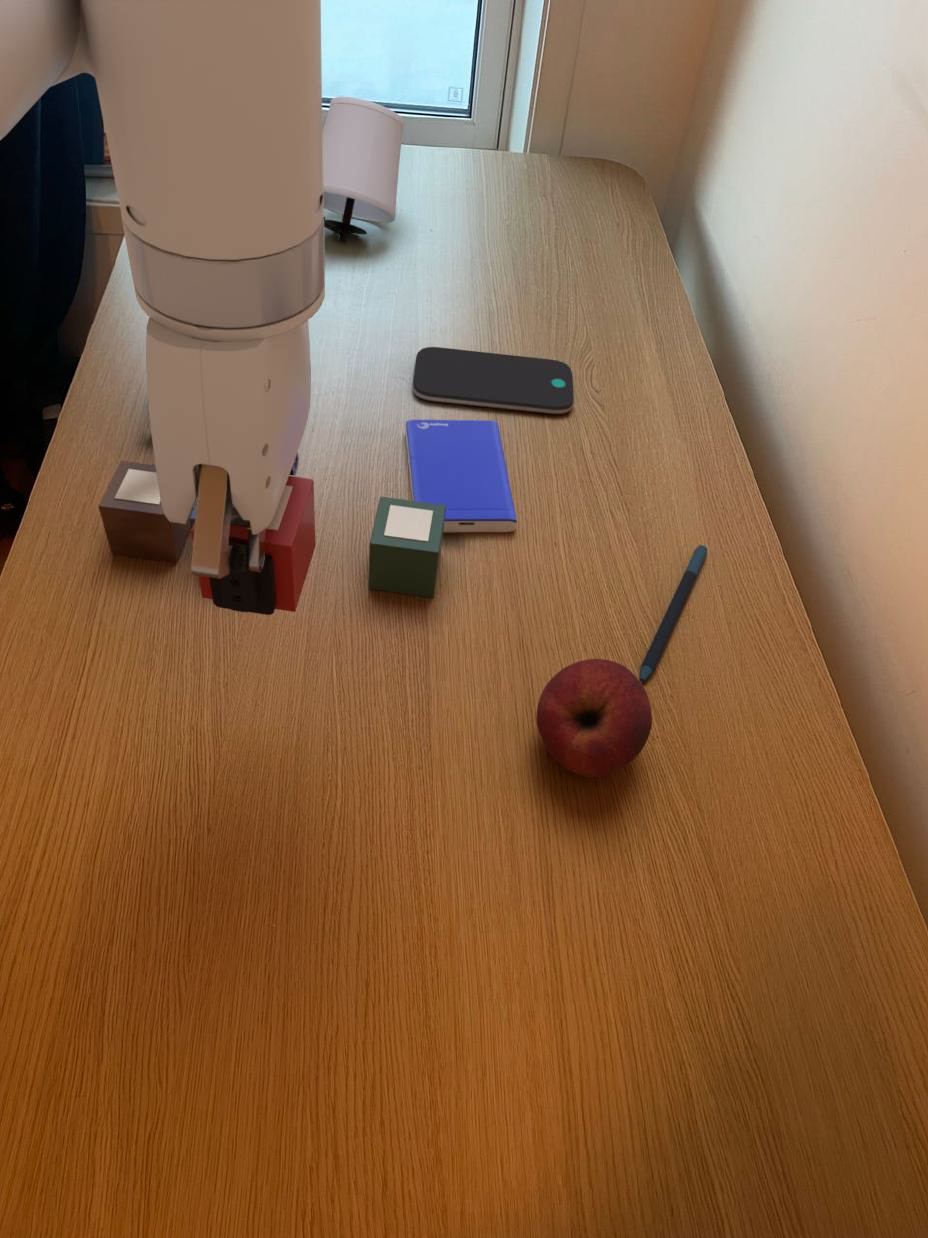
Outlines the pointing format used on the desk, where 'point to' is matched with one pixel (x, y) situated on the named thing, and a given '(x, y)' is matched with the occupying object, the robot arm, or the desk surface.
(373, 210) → the light fixture
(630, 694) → the apple
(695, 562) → the pen
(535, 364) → the smartphone
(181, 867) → the desk surface
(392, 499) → the green block
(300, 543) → the red block
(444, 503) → the hard drive
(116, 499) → the walnut block
